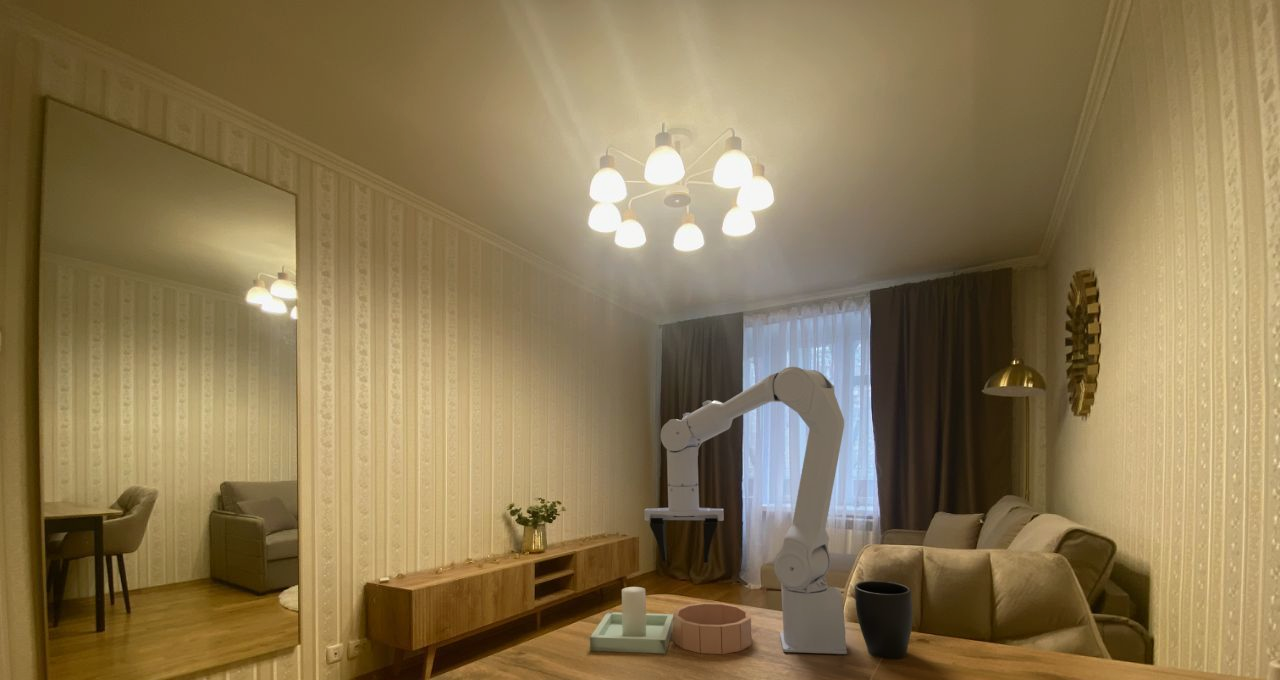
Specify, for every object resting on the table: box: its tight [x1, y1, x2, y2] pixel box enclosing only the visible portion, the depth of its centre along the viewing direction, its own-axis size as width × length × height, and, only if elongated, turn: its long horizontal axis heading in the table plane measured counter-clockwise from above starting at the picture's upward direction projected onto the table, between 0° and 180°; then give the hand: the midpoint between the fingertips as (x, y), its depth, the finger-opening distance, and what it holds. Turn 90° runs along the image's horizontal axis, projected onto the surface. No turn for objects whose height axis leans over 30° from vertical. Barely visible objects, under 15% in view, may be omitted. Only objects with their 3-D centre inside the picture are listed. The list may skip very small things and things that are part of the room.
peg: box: [621, 586, 647, 637], centre depth 102 cm, size 4×4×7 cm
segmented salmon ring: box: [672, 602, 753, 655], centre depth 100 cm, size 13×13×4 cm
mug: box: [854, 579, 914, 660], centre depth 95 cm, size 8×12×10 cm
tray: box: [589, 611, 674, 654], centre depth 101 cm, size 12×13×2 cm
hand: (685, 561), depth 111 cm, fingers open, 7 cm apart
